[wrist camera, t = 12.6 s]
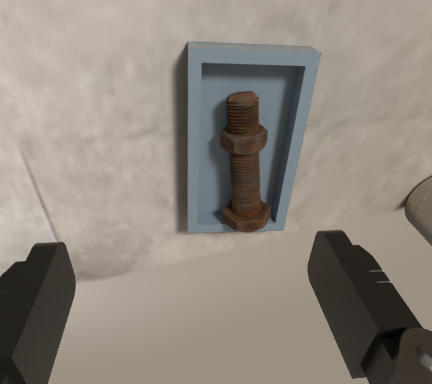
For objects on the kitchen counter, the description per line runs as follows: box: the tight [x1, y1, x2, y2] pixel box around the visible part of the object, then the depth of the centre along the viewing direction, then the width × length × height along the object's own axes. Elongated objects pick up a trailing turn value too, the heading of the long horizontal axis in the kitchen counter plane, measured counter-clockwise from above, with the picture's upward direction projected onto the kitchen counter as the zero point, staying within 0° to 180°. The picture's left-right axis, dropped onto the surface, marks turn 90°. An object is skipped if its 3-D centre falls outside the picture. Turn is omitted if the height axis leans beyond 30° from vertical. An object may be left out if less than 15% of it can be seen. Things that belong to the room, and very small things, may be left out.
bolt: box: [219, 91, 271, 232], centre depth 35 cm, size 6×5×15 cm
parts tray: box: [187, 42, 321, 233], centre depth 36 cm, size 12×21×3 cm, turn 177°
